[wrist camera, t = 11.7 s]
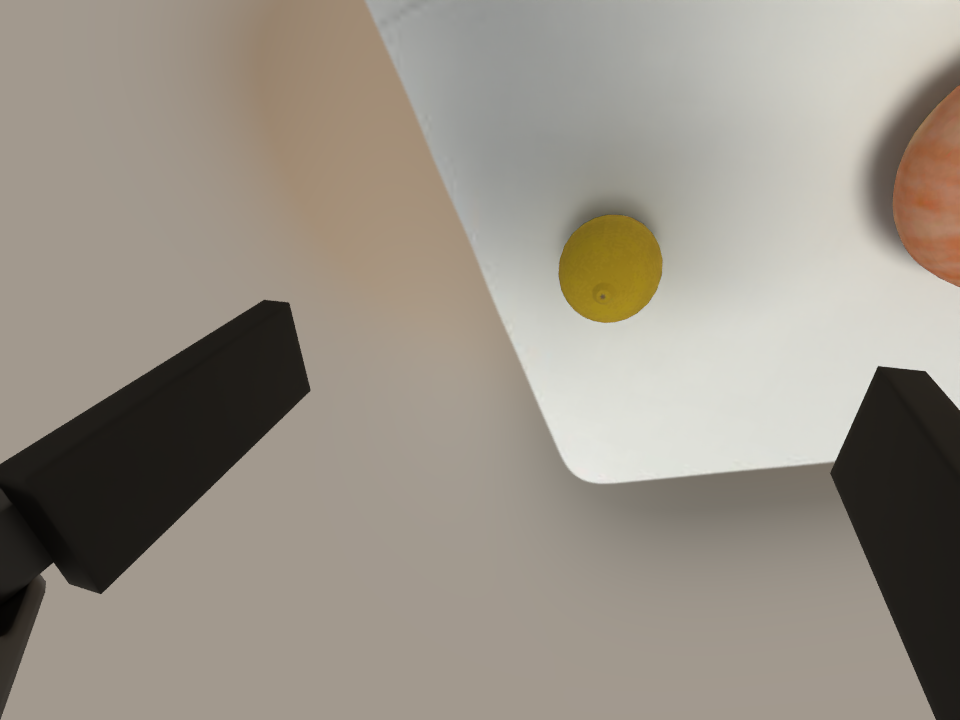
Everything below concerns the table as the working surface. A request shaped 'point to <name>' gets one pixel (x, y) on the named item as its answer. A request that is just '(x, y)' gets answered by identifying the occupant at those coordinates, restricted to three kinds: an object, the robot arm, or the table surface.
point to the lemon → (610, 268)
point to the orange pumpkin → (932, 192)
